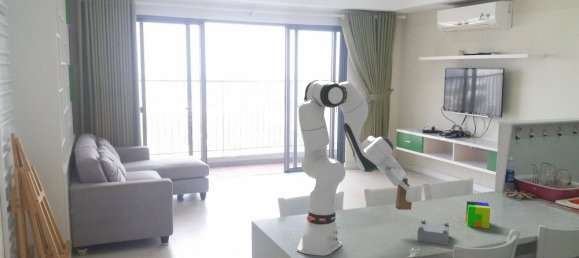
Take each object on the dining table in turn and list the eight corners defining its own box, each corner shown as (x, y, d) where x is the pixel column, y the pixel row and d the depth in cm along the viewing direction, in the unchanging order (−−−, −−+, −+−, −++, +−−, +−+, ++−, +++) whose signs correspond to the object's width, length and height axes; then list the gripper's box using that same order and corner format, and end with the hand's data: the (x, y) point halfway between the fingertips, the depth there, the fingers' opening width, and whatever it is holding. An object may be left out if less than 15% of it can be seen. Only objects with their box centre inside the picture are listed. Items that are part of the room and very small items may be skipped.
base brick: (447, 244, 213) (448, 231, 212) (417, 240, 217) (417, 227, 216) (448, 235, 225) (449, 222, 224) (420, 231, 229) (420, 219, 228)
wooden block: (398, 209, 226) (401, 178, 224) (395, 207, 229) (398, 176, 227) (411, 209, 227) (414, 178, 225) (408, 207, 230) (411, 177, 228)
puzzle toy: (486, 221, 246) (487, 202, 244) (489, 228, 236) (490, 208, 235) (465, 220, 248) (466, 201, 247) (467, 226, 239) (468, 206, 237)
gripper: (389, 164, 217) (410, 188, 214) (396, 158, 236) (415, 179, 234) (379, 173, 219) (400, 197, 217) (386, 166, 238) (405, 187, 236)
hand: (408, 187), depth 225 cm, fingers closed on wooden block, 4 cm apart
